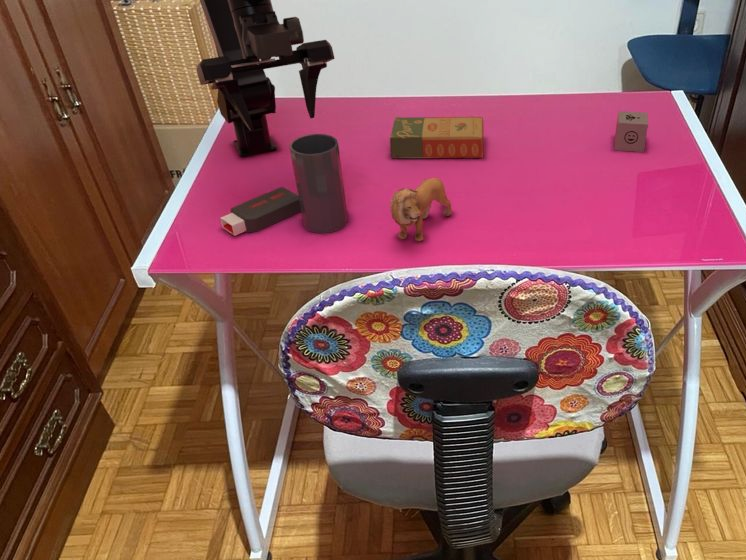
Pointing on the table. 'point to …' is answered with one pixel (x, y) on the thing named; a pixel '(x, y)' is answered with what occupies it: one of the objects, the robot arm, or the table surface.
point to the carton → (437, 137)
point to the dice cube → (631, 131)
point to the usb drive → (261, 211)
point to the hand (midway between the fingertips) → (282, 124)
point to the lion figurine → (417, 205)
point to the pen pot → (319, 182)
